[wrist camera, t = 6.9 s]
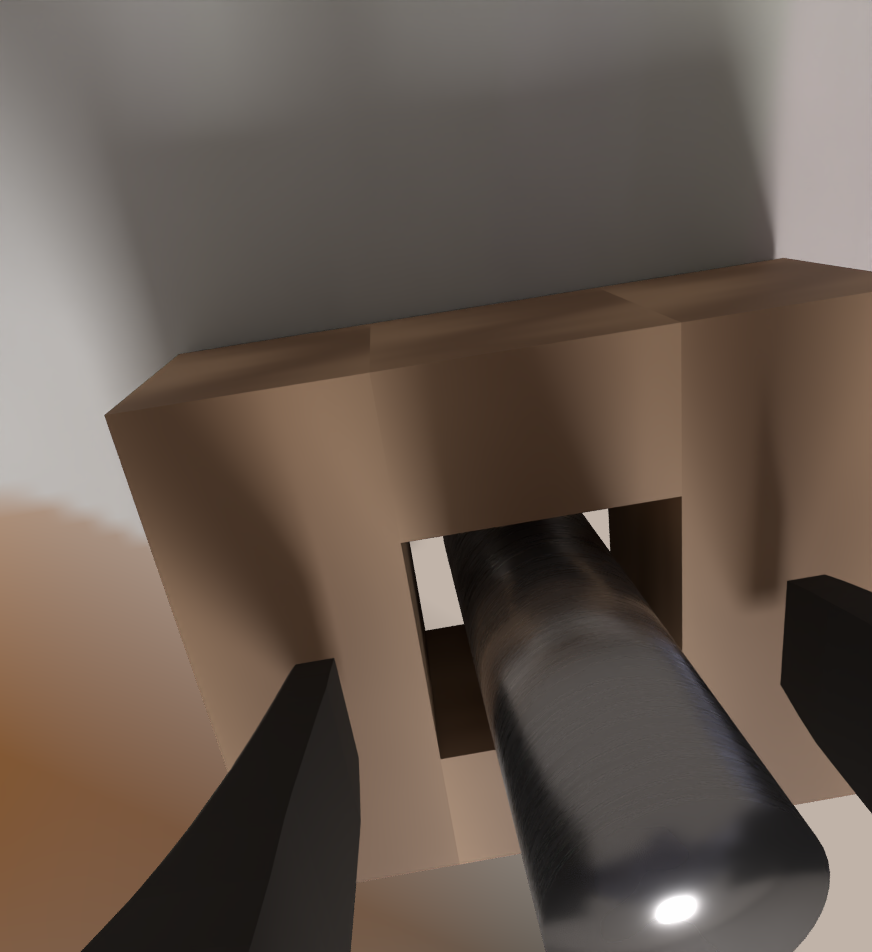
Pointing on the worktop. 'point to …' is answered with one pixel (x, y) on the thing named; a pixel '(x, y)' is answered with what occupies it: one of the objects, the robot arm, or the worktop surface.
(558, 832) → the peg
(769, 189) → the worktop surface
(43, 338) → the worktop surface
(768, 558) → the hole block
